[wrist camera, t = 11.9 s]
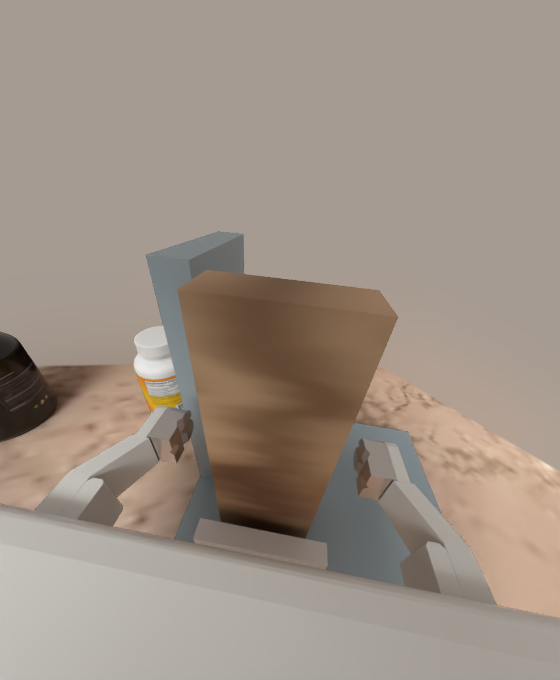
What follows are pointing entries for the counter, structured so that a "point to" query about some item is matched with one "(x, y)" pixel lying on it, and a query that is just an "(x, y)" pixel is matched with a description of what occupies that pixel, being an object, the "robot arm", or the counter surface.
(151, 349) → the supplement bottle
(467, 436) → the counter surface
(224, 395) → the door panel
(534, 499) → the counter surface
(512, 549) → the counter surface
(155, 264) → the blue-grey l-shaped stand
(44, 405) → the supplement bottle
